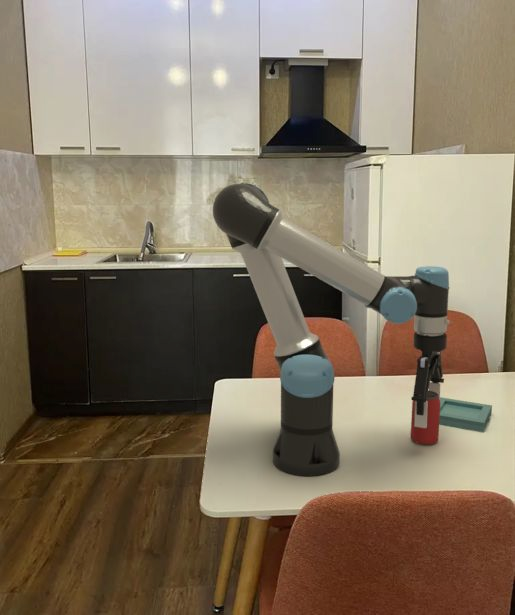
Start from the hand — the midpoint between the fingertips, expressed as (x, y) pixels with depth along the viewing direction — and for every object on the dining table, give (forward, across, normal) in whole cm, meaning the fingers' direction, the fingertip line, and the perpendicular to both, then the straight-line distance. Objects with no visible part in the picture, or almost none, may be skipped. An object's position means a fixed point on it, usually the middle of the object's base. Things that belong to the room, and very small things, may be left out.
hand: (427, 417), depth 148 cm
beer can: (+6, 0, 0) cm, 6 cm away
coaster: (+6, +19, -4) cm, 20 cm away
